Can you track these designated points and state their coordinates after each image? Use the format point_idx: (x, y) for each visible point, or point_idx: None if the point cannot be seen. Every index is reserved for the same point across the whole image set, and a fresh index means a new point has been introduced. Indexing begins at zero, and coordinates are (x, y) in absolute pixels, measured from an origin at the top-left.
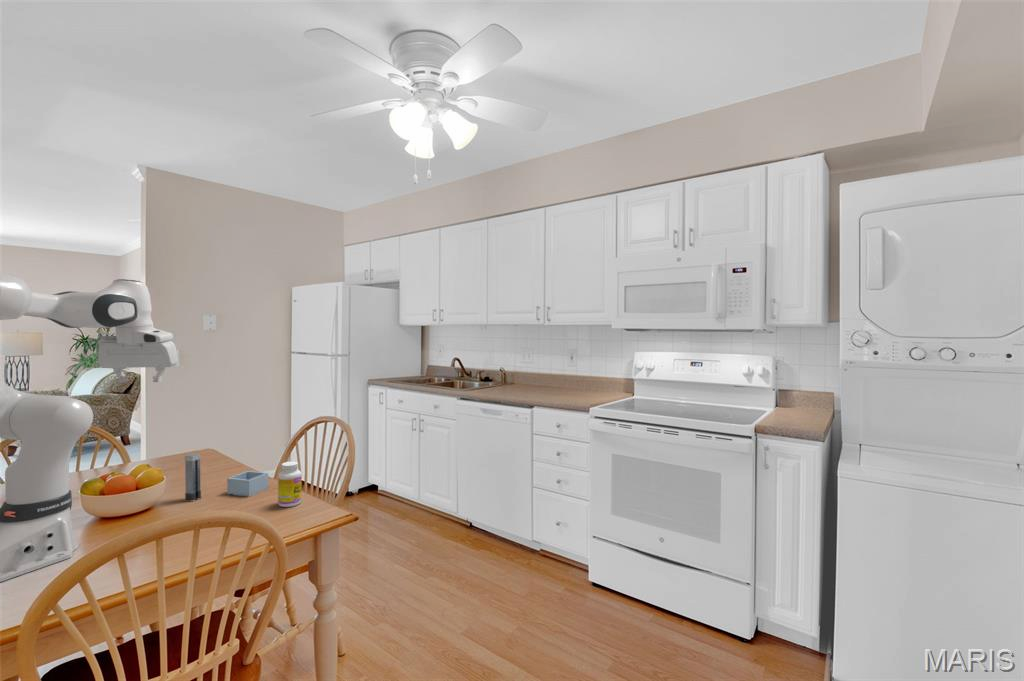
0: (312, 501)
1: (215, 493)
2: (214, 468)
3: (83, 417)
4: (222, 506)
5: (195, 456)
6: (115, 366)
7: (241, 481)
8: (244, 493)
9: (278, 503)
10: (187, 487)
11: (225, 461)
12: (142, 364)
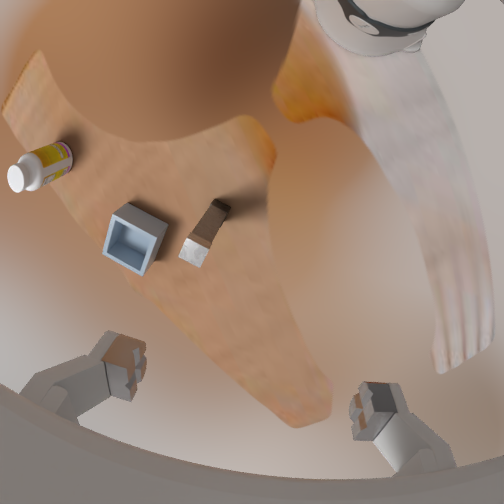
0: None
1: None
2: (250, 361)
3: None
4: (151, 160)
5: (184, 243)
6: (447, 477)
7: (129, 220)
8: (133, 208)
9: (69, 150)
10: (220, 214)
11: (246, 385)
12: (141, 478)
